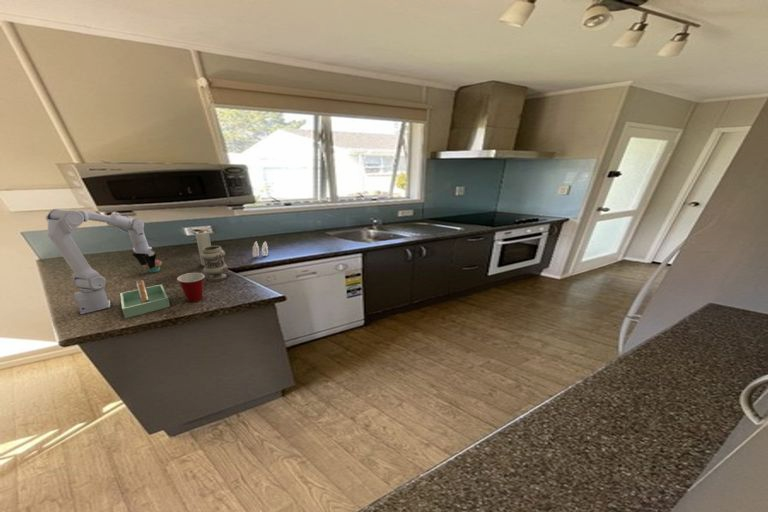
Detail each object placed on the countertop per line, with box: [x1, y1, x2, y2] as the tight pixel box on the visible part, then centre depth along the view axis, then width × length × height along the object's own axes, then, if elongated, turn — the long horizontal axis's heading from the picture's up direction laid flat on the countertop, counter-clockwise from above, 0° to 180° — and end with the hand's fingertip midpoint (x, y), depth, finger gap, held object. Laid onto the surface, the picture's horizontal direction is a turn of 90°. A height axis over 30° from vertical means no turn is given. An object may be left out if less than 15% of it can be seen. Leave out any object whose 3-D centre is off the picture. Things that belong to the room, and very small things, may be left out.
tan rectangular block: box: [135, 279, 150, 304], centre depth 133 cm, size 3×15×8 cm, turn 43°
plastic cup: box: [176, 272, 206, 303], centre depth 135 cm, size 11×11×12 cm
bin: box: [119, 283, 171, 319], centre depth 131 cm, size 16×20×4 cm
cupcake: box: [142, 258, 163, 273], centre depth 167 cm, size 9×8×12 cm
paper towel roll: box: [195, 230, 212, 267], centre depth 178 cm, size 7×6×21 cm
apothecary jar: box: [201, 245, 229, 282], centre depth 159 cm, size 12×12×18 cm
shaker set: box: [252, 241, 269, 259], centre depth 196 cm, size 12×4×11 cm, turn 144°
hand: (148, 266), depth 148 cm, fingers open, 7 cm apart
